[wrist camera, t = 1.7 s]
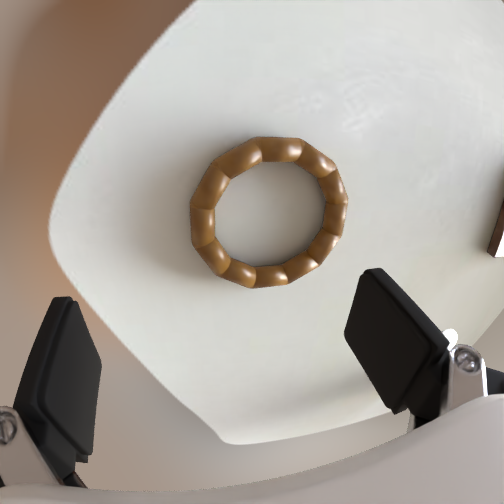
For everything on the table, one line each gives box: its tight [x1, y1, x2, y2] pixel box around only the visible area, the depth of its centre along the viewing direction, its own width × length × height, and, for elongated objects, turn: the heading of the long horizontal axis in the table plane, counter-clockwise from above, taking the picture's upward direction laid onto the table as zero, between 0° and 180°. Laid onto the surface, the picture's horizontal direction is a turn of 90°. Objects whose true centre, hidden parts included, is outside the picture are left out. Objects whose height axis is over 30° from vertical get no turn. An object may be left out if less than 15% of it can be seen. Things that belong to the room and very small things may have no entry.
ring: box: [190, 137, 348, 288], centre depth 15 cm, size 8×8×1 cm
